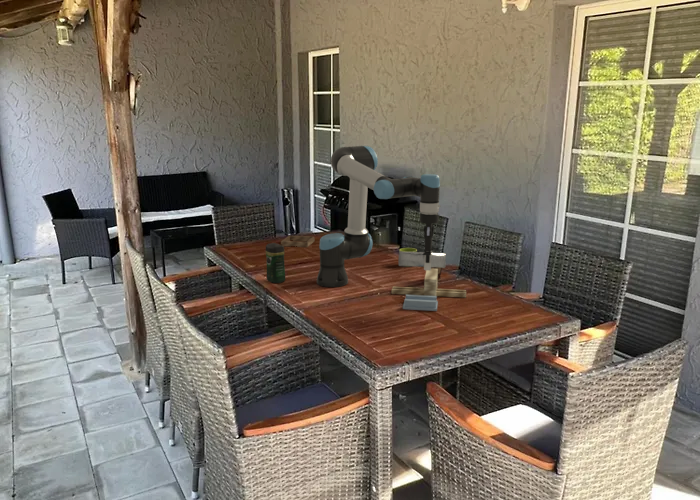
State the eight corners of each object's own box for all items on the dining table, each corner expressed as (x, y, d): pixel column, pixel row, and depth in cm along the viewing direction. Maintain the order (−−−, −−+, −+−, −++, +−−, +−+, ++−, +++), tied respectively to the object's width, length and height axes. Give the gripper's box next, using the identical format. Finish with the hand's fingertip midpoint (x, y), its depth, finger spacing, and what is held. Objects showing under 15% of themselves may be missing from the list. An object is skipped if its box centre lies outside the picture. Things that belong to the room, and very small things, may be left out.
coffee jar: (288, 281, 272) (286, 244, 268) (273, 284, 268) (271, 246, 264) (278, 277, 280) (277, 240, 276) (264, 279, 276) (262, 243, 271)
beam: (389, 298, 246) (389, 277, 244) (394, 286, 263) (394, 266, 261) (466, 302, 240) (467, 281, 238) (465, 289, 257) (466, 269, 255)
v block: (402, 309, 232) (402, 301, 232) (404, 301, 242) (405, 293, 241) (436, 310, 230) (437, 302, 229) (437, 303, 239) (437, 295, 239)
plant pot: (396, 266, 297) (397, 251, 295) (402, 262, 306) (402, 247, 304) (414, 268, 294) (414, 252, 292) (418, 264, 303) (419, 248, 300)
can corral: (281, 246, 347) (280, 241, 346) (289, 240, 363) (288, 235, 362) (307, 247, 344) (307, 242, 343) (314, 241, 360) (314, 236, 359)
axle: (398, 267, 231) (398, 253, 230) (399, 264, 237) (400, 250, 235) (445, 269, 227) (445, 254, 226) (445, 265, 233) (445, 251, 232)
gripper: (437, 217, 217) (436, 274, 222) (439, 209, 235) (437, 262, 240) (418, 216, 218) (417, 273, 223) (421, 208, 236) (420, 261, 241)
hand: (427, 267), depth 232 cm, fingers closed on axle, 6 cm apart
